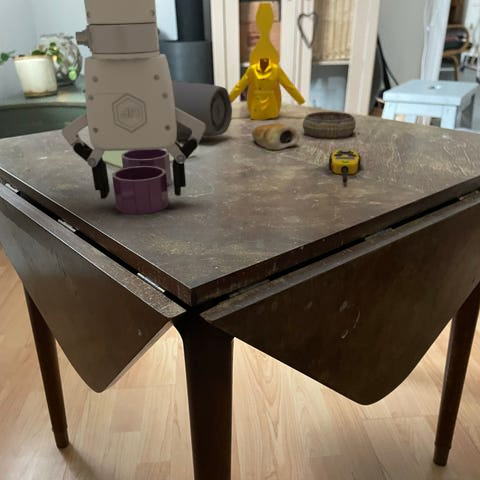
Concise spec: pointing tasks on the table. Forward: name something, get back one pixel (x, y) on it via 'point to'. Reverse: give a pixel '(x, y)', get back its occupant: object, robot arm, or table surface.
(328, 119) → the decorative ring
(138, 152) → the ribbed purple cap
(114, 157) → the placemat
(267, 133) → the pastry
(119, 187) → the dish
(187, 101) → the bluetooth speaker
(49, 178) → the table surface
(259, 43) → the yellow coat
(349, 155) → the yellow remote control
